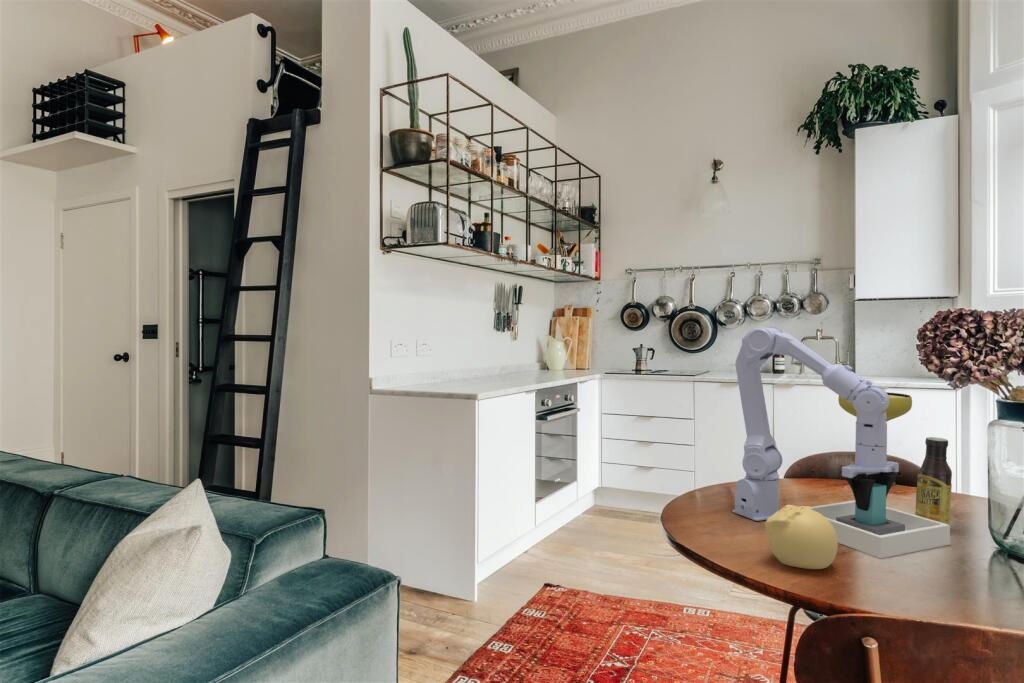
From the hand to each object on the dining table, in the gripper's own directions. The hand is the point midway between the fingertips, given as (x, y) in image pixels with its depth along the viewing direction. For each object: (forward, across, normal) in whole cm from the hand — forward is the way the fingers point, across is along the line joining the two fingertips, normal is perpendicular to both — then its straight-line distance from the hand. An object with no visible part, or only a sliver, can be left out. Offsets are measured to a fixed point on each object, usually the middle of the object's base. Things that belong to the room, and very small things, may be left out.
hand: (870, 508), depth 130 cm
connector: (+3, 0, 0) cm, 3 cm away
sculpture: (+6, -26, -6) cm, 27 cm away
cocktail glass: (+6, +43, +32) cm, 54 cm away
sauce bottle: (+6, +17, -2) cm, 18 cm away
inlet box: (+6, 0, 0) cm, 6 cm away
